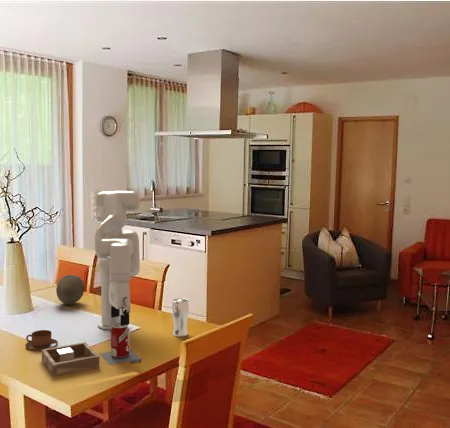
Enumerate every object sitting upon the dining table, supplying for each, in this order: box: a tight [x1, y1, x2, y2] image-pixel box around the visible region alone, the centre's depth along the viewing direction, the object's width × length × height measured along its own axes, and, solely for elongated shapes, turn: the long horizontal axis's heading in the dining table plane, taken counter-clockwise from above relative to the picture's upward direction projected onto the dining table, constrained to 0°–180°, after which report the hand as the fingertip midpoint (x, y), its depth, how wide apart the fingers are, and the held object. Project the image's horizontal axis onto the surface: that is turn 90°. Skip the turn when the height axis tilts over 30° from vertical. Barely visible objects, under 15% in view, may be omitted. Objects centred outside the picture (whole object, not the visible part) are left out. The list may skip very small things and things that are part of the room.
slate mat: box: [99, 347, 142, 366], centre depth 193 cm, size 12×12×1 cm
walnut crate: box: [41, 342, 100, 377], centre depth 185 cm, size 16×16×5 cm
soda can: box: [110, 323, 130, 359], centre depth 193 cm, size 7×7×12 cm
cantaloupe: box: [55, 274, 85, 306], centre depth 261 cm, size 14×14×15 cm
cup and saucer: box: [25, 329, 59, 352], centre depth 202 cm, size 12×12×6 cm
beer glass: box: [171, 297, 190, 338], centre depth 220 cm, size 7×7×15 cm
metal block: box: [56, 347, 74, 363], centre depth 187 cm, size 5×5×4 cm
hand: (120, 320), depth 192 cm, fingers open, 9 cm apart
